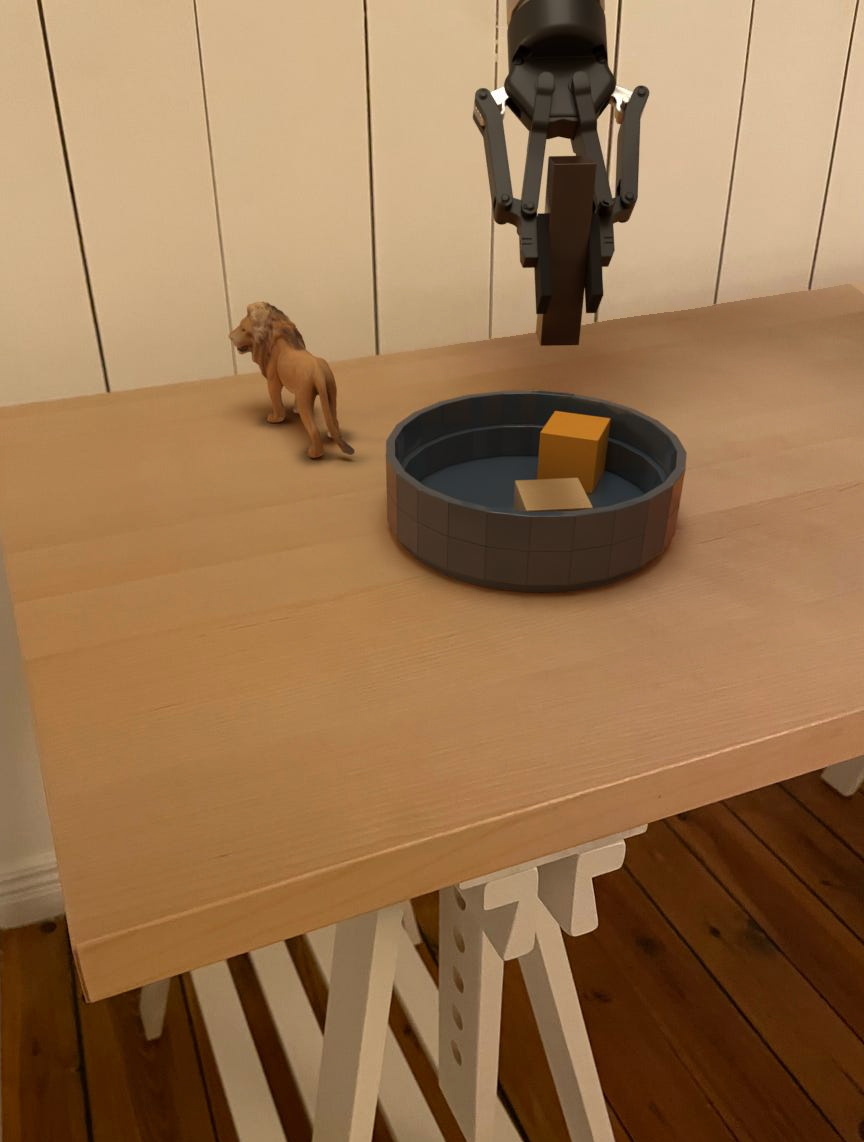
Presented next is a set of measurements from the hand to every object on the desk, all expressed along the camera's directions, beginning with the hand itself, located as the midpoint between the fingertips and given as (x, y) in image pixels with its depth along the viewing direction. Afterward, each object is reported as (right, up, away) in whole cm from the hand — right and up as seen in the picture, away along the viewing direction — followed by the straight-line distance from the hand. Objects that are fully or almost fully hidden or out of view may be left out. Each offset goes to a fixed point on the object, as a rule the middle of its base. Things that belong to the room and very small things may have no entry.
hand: (569, 304), depth 74 cm
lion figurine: (-21, -8, +8) cm, 24 cm away
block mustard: (0, -13, -2) cm, 13 cm away
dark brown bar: (0, -1, +5) cm, 6 cm away
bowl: (-4, -17, -5) cm, 18 cm away
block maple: (-3, -19, -10) cm, 22 cm away
